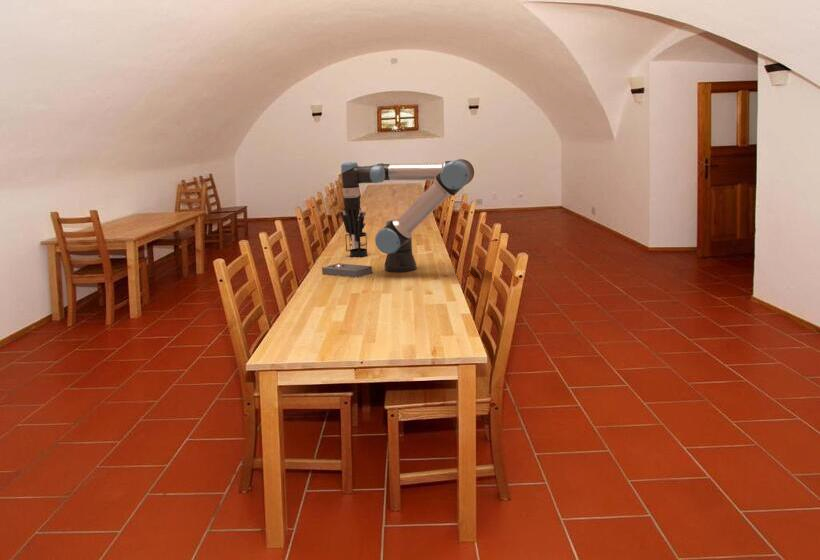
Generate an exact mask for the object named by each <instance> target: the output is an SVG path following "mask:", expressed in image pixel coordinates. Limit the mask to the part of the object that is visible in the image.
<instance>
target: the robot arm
mask: <svg viewBox="0 0 820 560" xmlns="http://www.w3.org/2000/svg"><path fill="white" fill-rule="evenodd" d="M340 167H341V169H340V171H341V172H340V175H341V181H342V182H341V183H342V196H343V206H344V210H343V211H340V216H341V218H342V221H343V224H344V228H345V232H346V234H350V242H351V244H352V246H351V247H352V248H351V249H356V248H359V247H358V241H359V233H361V232H363V229H364V228H363V223H364V221H365V216H366V212H365V211H362V208H361V197H360V195H361V191H360V184H378V183H383V182H385V181H434V182H433V183H432V184H431V185H430V186H429V187H428V188H427V189H426V190H425V191H424V192H423V193H422V194H421V195H420V196H419V197H418V198H417V199H416V200H415V201H414V202H413V203H412V204H411V205H410V206H409V207H408V208H407V209H406V210H405V211H404V212H403V213H402V214H401V215H400V216H399V217H398V218H392V219H391V220H387V221H386V224H385V226H384V227H383V228H380V229H379V230H378V231H377V233H376V235H375V239H374V240H375V246H376V247H377V249H378V250H379V251H380V252H381V253H384V254H387V255H386V257H385V263H384V266H383V267H384V270H385V271H386V272H392V273H393V272H395V273H399V272H400V273H403V272H404V273H405V272H410V271H414V270H416V269H417V263H416V260H415V257H414V254H413V245H412V243H413V241H412V239H413V238H412V232H413V231H414V230H416V229H417V227H419V225H421V223H423V222H424V221H425V220H426V219H427V217H429V216H430V215H431V214H432V213H433V212H434V211H435V210H436V209H437V208H438V207H439V206H440V205H441V204H442V203H444V201H446V199H448V197H455V196H456V194H458V192H460V190H461V189H463V187H465V186H466V185H468V184H469V183H470V182H471V181H472V180H473V179H474V177H475V169H474V165H472V163H471V162H470V161H469V160H466V159H463V158H462V159H461V158H459V159H456V160H445V161H444V162H443V163H442V162H441V163H439V162H438V163H437V162H436V163H382V162H381V163H377V164H374V165H367V166H366V165H365V166H359V164H358V162H357V161H354V162H353V161H351V162H350V161H348V162H343V163H342V164H341V166H340Z"/></svg>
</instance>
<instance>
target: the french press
mask: <svg viewBox="0 0 820 560" xmlns="http://www.w3.org/2000/svg"><path fill="white" fill-rule="evenodd" d="M365 226H366V222H365V223H364V222H363V229H364V228H365ZM344 236H345V239H347V236H348V238H349V247H352V243H351V239H350V234H349V233H346V234H345V235H344ZM363 237H367V232H365V231H364V232H363V231H362V232H361V233H359V241H358V247H359V248H356V249H352V248H349V249H348V244H347V243H348V242H347V240H345V250H346V252H349V257H350V258H353V257H360V258H366V257H368V256H369V255H368V243H367V240H368V239H365V242H361V238H363ZM363 246H364V247H363ZM365 246H366V247H365ZM362 247H363V248H362ZM365 256H366V257H365Z"/></svg>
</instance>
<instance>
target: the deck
mask: <svg viewBox="0 0 820 560" xmlns="http://www.w3.org/2000/svg"><path fill="white" fill-rule="evenodd" d="M337 264H340V265H342V266H343V267H335V266H336V265H337ZM372 267H373V266H371V265H362V264H352V263H351V264H349V263H341V262H339V263H338V262H337V263H334V264H331V265H327V266H324V267H322V268H321V274H322V275H326V274H328V275H329V276H336V275H340V276H339V277H345V276H350V277H349V278H355V277H357V278H360V277H362V276H366V275H369V274H372V273H373V268H372ZM328 275H327V276H328ZM359 276H360V277H359Z"/></svg>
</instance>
